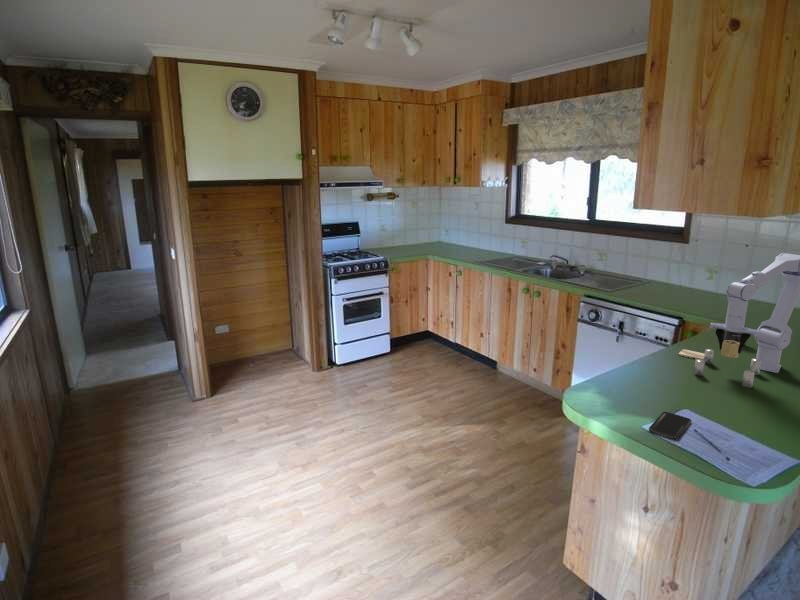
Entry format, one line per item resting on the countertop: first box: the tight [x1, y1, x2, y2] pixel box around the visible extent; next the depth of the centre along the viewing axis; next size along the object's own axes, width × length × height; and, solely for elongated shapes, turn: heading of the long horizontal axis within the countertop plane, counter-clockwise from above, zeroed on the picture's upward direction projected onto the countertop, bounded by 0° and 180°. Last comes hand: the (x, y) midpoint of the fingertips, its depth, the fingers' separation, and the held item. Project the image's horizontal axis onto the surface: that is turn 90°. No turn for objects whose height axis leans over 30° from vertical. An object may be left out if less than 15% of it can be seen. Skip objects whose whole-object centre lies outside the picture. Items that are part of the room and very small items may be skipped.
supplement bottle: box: [724, 324, 746, 343], centre depth 208 cm, size 7×7×12 cm
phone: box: [648, 411, 692, 441], centre depth 140 cm, size 8×1×15 cm
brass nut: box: [720, 340, 740, 359], centre depth 174 cm, size 6×5×5 cm
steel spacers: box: [692, 348, 762, 389], centre depth 176 cm, size 18×18×6 cm
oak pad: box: [677, 348, 705, 360], centre depth 195 cm, size 7×9×1 cm
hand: (730, 350), depth 174 cm, fingers closed on brass nut, 5 cm apart
